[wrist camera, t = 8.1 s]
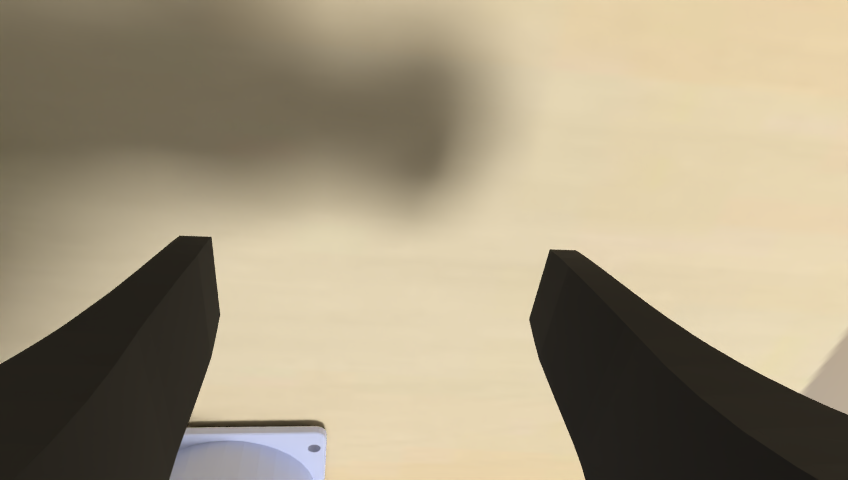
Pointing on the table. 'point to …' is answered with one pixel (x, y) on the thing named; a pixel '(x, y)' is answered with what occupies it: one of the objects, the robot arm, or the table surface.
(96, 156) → the table surface
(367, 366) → the table surface
